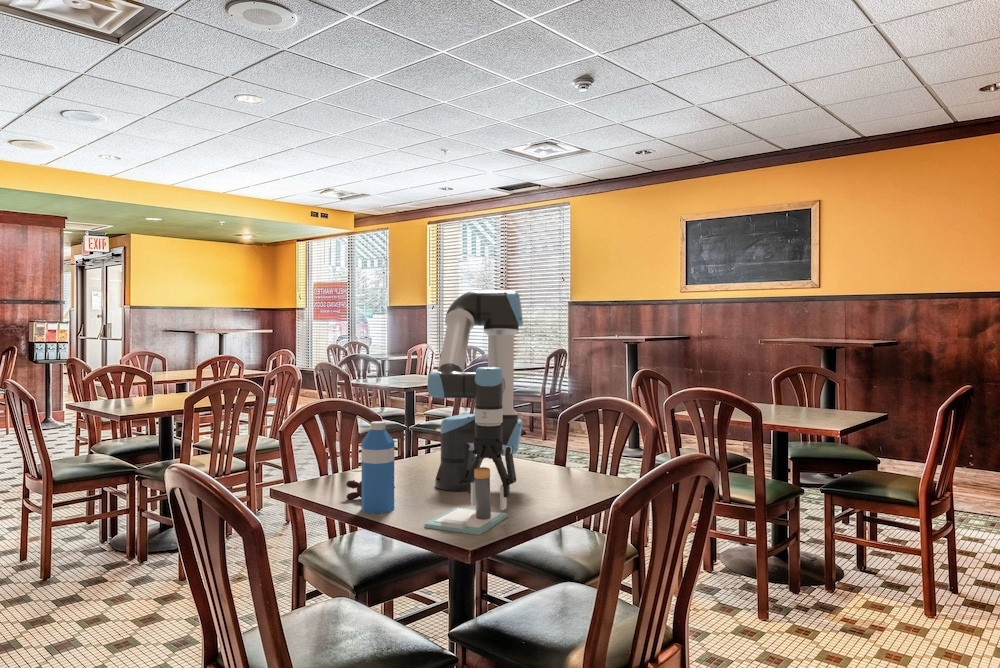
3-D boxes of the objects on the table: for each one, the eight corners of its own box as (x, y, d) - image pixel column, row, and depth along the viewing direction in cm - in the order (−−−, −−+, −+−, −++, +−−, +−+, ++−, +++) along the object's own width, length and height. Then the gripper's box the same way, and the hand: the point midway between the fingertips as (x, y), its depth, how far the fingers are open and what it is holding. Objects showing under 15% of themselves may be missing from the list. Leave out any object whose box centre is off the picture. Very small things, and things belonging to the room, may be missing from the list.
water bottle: (396, 504, 200) (396, 420, 199) (392, 513, 190) (392, 424, 190) (364, 505, 199) (364, 420, 199) (358, 513, 190) (358, 424, 190)
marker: (479, 513, 185) (478, 466, 184) (493, 515, 183) (492, 468, 182) (473, 518, 181) (471, 470, 180) (487, 520, 180) (486, 472, 179)
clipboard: (455, 510, 194) (455, 502, 194) (507, 516, 187) (507, 508, 187) (424, 527, 177) (424, 519, 177) (479, 535, 171) (479, 526, 171)
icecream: (397, 475, 210) (349, 479, 211) (391, 474, 203) (342, 478, 203) (397, 498, 208) (349, 502, 209) (392, 498, 201) (342, 502, 202)
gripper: (448, 423, 186) (448, 506, 186) (519, 428, 177) (518, 514, 178) (460, 419, 193) (460, 499, 193) (529, 424, 184) (529, 507, 185)
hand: (488, 507), depth 185 cm, fingers open, 8 cm apart
